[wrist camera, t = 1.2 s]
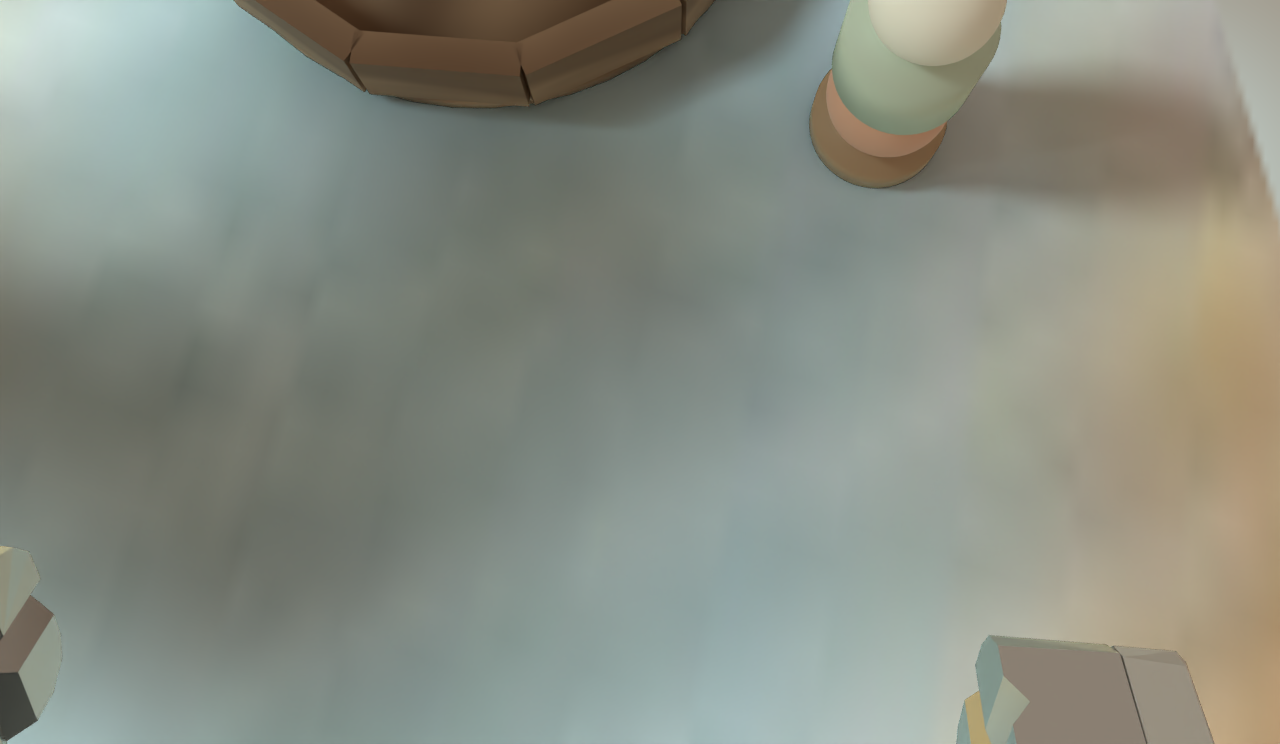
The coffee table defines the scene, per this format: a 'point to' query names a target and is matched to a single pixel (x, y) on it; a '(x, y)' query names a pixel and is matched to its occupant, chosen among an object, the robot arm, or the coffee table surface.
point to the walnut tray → (478, 43)
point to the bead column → (899, 84)
